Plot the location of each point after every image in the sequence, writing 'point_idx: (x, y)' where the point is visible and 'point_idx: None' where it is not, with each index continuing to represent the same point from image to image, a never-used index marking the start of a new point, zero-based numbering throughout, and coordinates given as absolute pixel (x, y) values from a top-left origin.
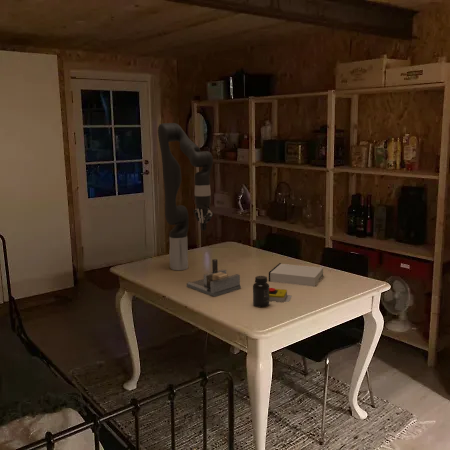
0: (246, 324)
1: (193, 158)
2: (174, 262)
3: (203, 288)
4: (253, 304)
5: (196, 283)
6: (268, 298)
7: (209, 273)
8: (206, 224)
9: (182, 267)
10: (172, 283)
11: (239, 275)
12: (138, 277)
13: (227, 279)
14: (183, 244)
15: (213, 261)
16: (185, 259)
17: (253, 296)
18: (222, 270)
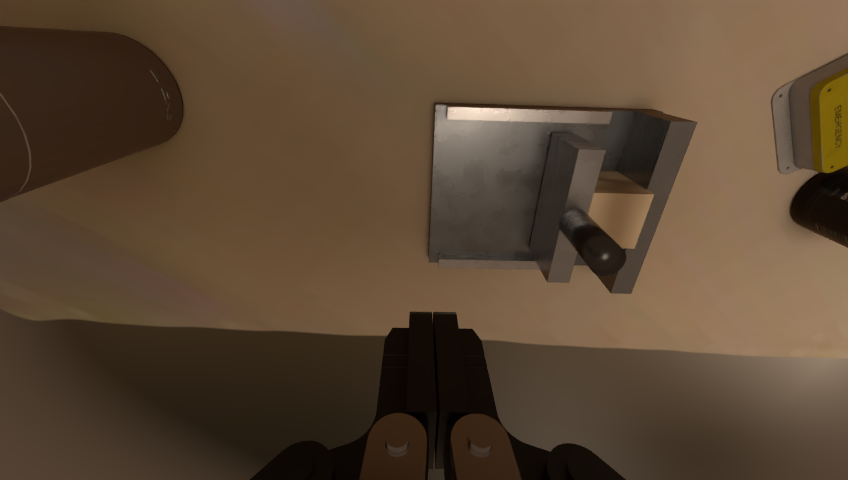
0: (820, 335)
1: None
2: (130, 154)
3: None
4: (798, 223)
5: (460, 234)
6: None
7: (558, 252)
8: (492, 396)
9: (173, 112)
10: (351, 267)
11: (694, 123)
12: (190, 309)
13: (658, 212)
14: (33, 127)
15: (605, 271)
16: (133, 91)
17: (834, 241)
18: (588, 169)
